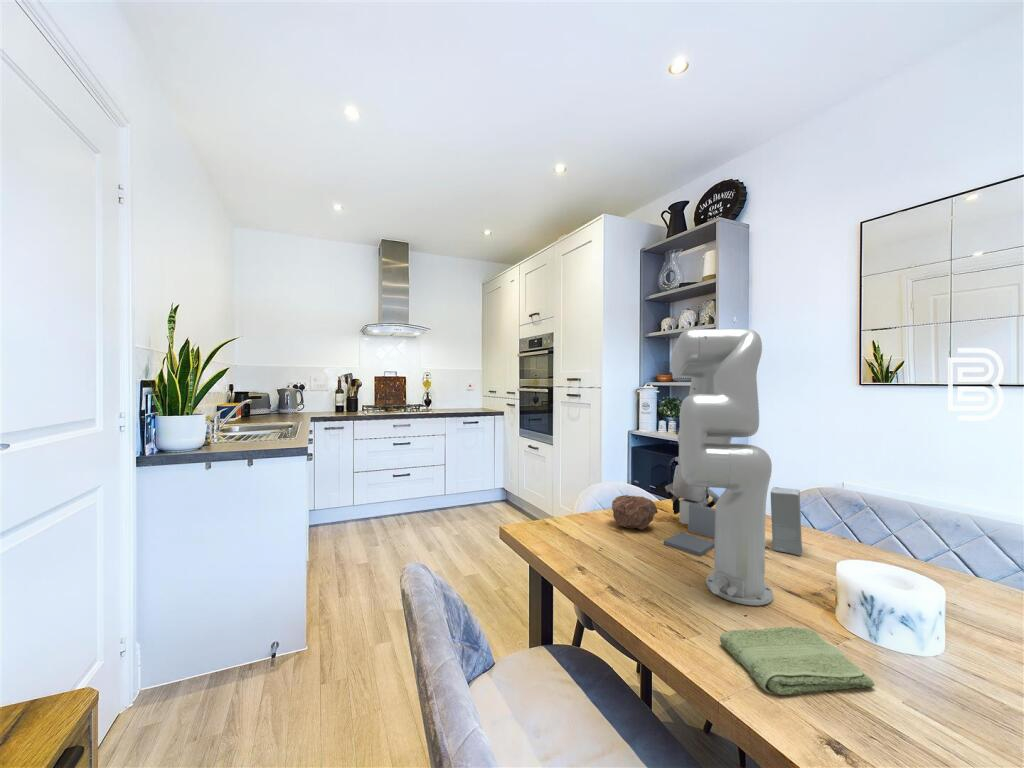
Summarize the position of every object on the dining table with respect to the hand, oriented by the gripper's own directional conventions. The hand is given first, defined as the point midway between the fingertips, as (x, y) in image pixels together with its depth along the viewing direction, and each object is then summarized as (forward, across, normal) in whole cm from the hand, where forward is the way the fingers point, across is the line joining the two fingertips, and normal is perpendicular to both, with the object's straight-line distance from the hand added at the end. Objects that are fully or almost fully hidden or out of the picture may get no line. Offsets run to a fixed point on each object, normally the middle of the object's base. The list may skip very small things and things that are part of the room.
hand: (690, 516), depth 130 cm
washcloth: (+2, +40, -52) cm, 66 cm away
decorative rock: (+2, -10, -17) cm, 20 cm away
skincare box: (+2, +26, 0) cm, 26 cm away
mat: (+2, +8, -18) cm, 20 cm away
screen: (+2, +10, -7) cm, 12 cm away
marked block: (+2, 0, 0) cm, 2 cm away
